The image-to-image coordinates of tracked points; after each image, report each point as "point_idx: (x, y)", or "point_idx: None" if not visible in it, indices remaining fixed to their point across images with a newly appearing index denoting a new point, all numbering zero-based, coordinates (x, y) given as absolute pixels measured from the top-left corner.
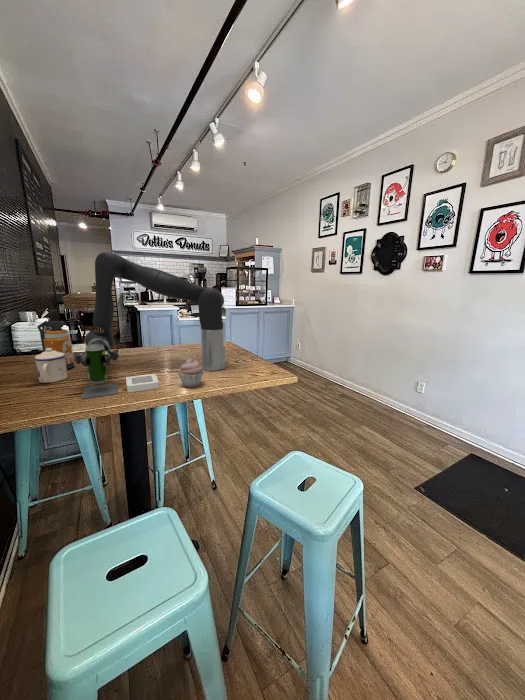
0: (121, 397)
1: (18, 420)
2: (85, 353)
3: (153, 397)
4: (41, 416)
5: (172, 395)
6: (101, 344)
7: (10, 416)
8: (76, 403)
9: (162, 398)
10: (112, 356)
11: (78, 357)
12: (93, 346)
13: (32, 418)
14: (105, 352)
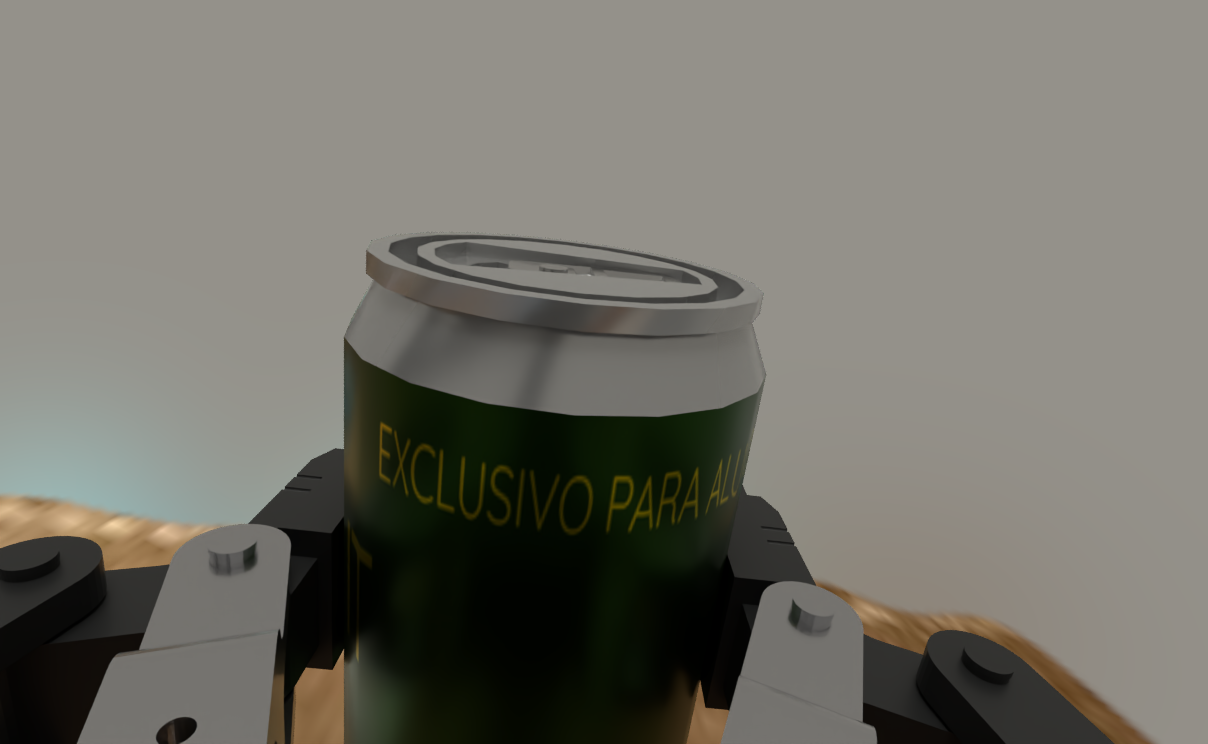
0: (342, 668)
1: (970, 630)
2: (856, 723)
3: (146, 561)
4: (862, 622)
5: (11, 532)
6: (387, 258)
7: (1088, 707)
8: (708, 721)
9: (118, 525)
10: (141, 595)
11: (932, 651)
12: (593, 269)
13: (901, 620)
14: (220, 635)
